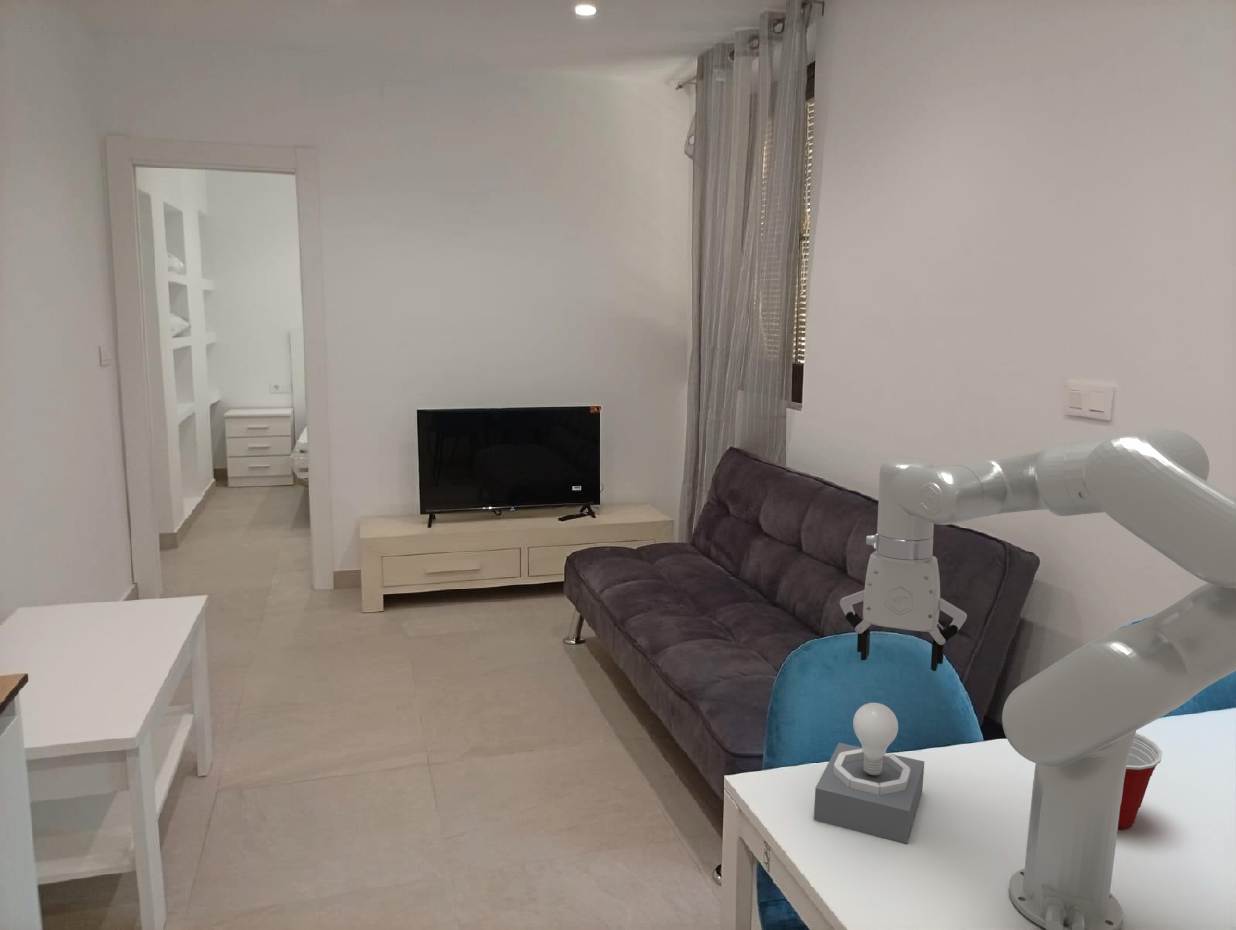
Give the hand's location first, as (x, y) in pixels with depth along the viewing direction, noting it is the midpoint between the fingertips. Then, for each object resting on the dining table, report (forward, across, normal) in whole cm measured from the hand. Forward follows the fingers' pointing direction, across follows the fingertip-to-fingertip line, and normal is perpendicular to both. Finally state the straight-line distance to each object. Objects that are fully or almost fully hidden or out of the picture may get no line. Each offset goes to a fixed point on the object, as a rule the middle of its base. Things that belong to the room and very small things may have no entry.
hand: (899, 662), depth 128 cm
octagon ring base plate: (+23, -3, +1) cm, 23 cm away
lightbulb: (+18, -3, 0) cm, 18 cm away
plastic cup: (+24, +29, +11) cm, 39 cm away
